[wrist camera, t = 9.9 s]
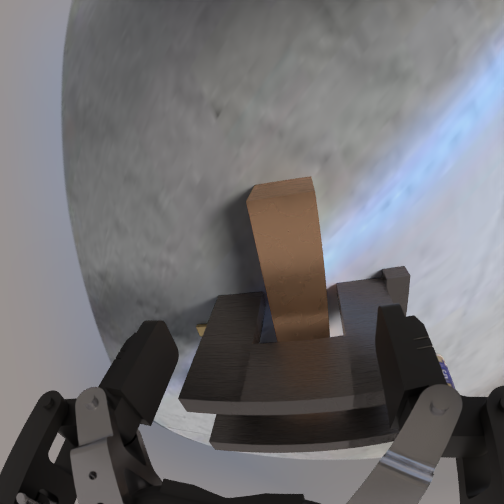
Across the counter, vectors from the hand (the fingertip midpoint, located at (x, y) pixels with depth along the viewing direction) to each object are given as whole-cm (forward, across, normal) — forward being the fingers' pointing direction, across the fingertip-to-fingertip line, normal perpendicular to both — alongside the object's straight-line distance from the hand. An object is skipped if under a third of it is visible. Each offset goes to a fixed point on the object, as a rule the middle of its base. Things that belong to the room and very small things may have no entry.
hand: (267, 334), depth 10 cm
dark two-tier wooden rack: (+12, 0, +10) cm, 16 cm away
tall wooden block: (+12, 0, +7) cm, 14 cm away
